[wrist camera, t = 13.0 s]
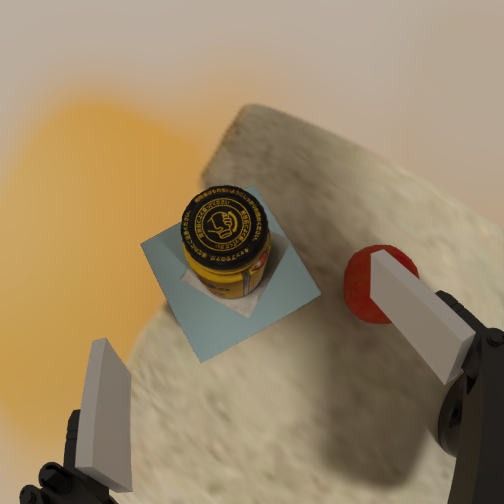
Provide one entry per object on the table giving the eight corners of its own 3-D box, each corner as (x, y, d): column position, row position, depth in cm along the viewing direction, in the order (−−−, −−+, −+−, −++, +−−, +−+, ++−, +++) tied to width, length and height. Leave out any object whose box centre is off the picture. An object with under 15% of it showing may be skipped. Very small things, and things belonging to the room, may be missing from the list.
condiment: (181, 280, 29) (143, 243, 18) (226, 207, 31) (219, 136, 20) (248, 318, 28) (253, 307, 17) (291, 241, 30) (319, 185, 19)
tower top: (252, 202, 36) (253, 184, 32) (311, 299, 33) (321, 294, 29) (152, 255, 34) (140, 244, 30) (206, 359, 31) (200, 363, 27)
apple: (320, 269, 39) (347, 244, 28) (377, 253, 39) (417, 225, 29) (338, 335, 36) (373, 333, 26) (396, 314, 37) (442, 305, 27)
